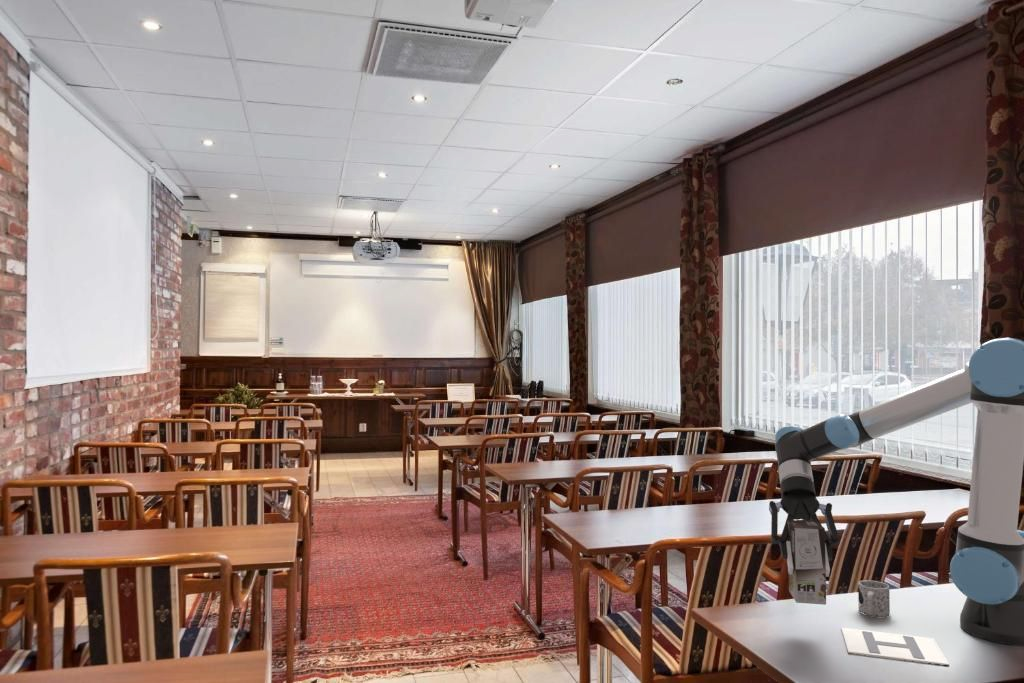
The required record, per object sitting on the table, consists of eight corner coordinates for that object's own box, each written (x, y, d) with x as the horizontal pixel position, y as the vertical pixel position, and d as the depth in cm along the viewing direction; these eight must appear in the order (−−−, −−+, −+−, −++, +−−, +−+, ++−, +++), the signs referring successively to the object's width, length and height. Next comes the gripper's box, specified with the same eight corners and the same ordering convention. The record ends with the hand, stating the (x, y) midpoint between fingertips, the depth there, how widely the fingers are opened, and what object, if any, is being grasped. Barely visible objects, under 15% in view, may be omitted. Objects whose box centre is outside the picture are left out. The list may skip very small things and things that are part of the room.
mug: (861, 606, 175) (860, 578, 176) (891, 611, 172) (891, 583, 172) (853, 617, 167) (853, 589, 167) (885, 624, 163) (885, 594, 164)
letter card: (933, 640, 154) (933, 637, 154) (949, 666, 141) (949, 663, 141) (841, 629, 160) (841, 627, 160) (848, 653, 147) (848, 651, 147)
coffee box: (827, 605, 152) (825, 528, 152) (795, 603, 153) (793, 527, 154) (818, 592, 161) (816, 519, 161) (788, 590, 162) (786, 518, 163)
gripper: (839, 494, 170) (856, 584, 154) (752, 491, 175) (760, 578, 159) (843, 475, 165) (861, 565, 149) (754, 473, 170) (761, 560, 154)
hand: (809, 572), depth 154 cm, fingers closed on coffee box, 7 cm apart
